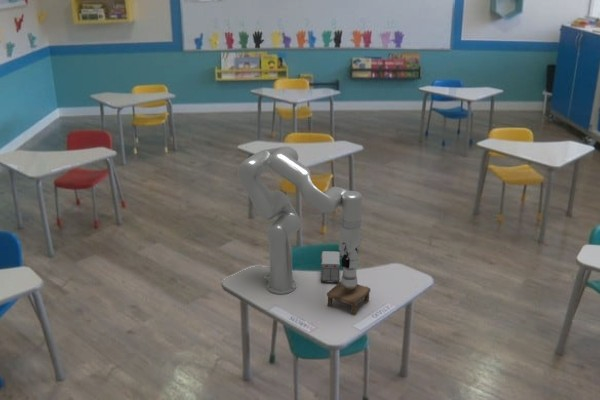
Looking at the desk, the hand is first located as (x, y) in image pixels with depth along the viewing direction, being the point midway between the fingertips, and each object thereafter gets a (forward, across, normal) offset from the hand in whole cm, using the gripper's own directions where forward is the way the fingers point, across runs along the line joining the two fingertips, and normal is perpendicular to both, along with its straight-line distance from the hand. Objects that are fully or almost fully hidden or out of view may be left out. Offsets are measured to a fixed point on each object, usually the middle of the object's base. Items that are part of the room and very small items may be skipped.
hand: (349, 263), depth 227 cm
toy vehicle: (+19, -17, -18) cm, 31 cm away
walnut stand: (+19, 0, 0) cm, 19 cm away
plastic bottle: (+11, 0, 0) cm, 11 cm away
